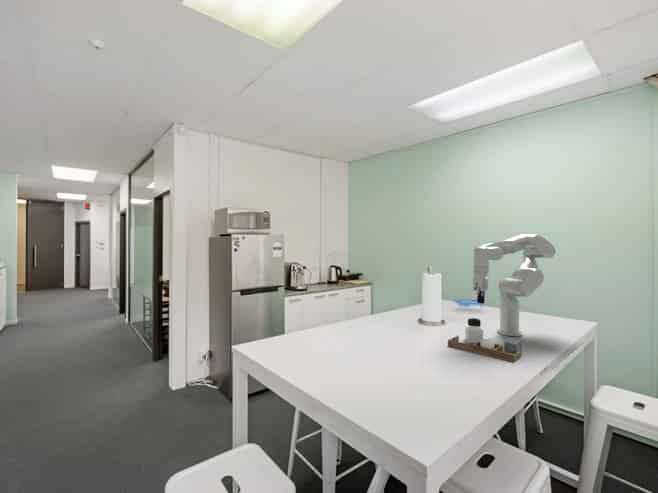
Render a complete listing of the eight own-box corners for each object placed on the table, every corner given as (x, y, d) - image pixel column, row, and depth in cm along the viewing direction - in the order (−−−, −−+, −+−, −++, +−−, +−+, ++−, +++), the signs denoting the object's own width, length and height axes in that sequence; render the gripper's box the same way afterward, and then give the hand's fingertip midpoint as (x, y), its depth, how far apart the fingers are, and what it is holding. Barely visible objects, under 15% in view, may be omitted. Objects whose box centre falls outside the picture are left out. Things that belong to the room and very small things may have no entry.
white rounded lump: (483, 348, 154) (483, 338, 154) (496, 351, 150) (496, 341, 150) (478, 351, 150) (478, 341, 150) (491, 354, 146) (491, 344, 146)
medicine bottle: (483, 344, 161) (483, 320, 161) (468, 343, 163) (468, 320, 163) (479, 339, 168) (479, 317, 168) (465, 339, 170) (465, 316, 170)
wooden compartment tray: (457, 341, 166) (457, 335, 166) (521, 355, 145) (521, 349, 145) (447, 346, 158) (448, 340, 158) (514, 361, 137) (514, 355, 137)
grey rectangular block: (510, 348, 155) (510, 337, 155) (521, 350, 152) (521, 340, 152) (504, 352, 149) (504, 341, 149) (516, 355, 145) (516, 344, 145)
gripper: (479, 268, 180) (478, 300, 180) (468, 270, 169) (468, 304, 169) (493, 269, 174) (492, 302, 175) (483, 270, 164) (483, 306, 164)
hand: (480, 303), depth 172 cm, fingers closed
